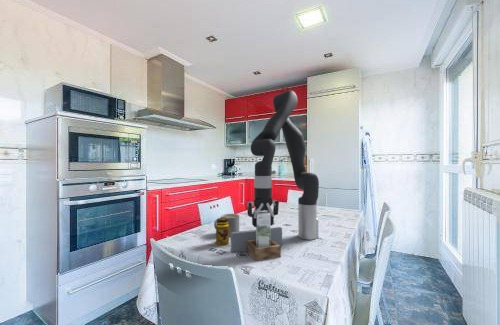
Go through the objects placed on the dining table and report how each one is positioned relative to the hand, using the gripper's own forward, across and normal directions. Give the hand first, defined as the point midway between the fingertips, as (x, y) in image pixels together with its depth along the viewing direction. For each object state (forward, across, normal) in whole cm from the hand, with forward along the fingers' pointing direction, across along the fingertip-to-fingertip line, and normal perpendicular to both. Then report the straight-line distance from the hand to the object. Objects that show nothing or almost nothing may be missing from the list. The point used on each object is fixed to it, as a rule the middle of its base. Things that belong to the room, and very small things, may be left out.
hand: (263, 225), depth 95 cm
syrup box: (+9, 0, 0) cm, 9 cm away
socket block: (+12, 0, 0) cm, 12 cm away
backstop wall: (+12, 0, +7) cm, 13 cm away
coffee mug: (+12, -8, +31) cm, 34 cm away
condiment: (+12, -14, +18) cm, 26 cm away
